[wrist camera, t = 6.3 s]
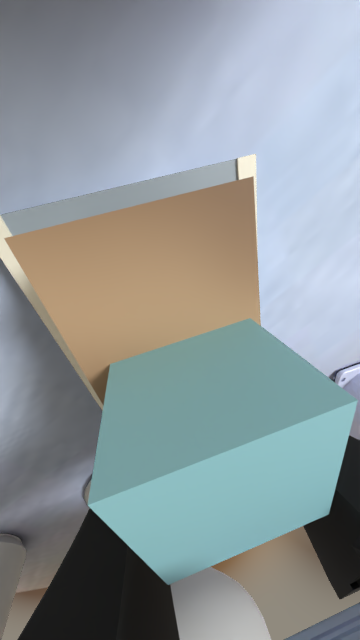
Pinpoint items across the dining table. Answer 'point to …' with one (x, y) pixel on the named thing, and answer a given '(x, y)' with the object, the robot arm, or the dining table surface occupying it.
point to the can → (9, 573)
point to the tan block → (146, 274)
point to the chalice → (214, 607)
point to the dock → (103, 204)
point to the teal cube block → (216, 447)
